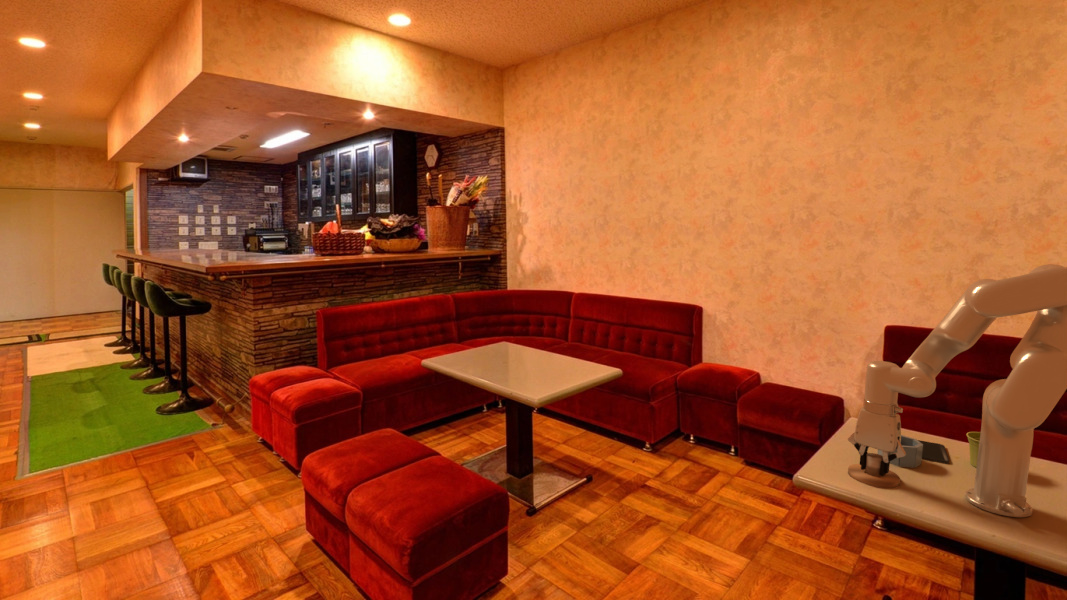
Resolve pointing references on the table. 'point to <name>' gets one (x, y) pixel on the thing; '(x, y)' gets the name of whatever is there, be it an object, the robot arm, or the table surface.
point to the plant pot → (973, 446)
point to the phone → (934, 452)
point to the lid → (873, 473)
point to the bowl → (908, 453)
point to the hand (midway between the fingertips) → (873, 470)
